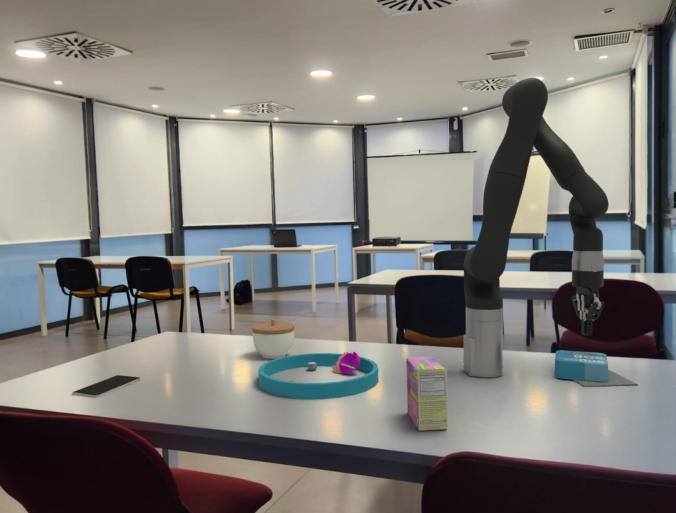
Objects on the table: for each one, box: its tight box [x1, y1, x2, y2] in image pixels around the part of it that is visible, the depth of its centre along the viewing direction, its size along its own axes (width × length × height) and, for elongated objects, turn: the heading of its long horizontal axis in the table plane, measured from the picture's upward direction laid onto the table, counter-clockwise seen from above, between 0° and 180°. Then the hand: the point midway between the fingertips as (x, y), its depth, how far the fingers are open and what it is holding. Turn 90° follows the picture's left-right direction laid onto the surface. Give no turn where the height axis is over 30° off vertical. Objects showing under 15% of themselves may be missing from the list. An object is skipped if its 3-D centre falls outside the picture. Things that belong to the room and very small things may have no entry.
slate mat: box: [572, 369, 638, 388], centre depth 138 cm, size 13×14×1 cm
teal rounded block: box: [554, 349, 609, 382], centre depth 141 cm, size 12×4×12 cm
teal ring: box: [257, 351, 379, 400], centre depth 140 cm, size 30×30×6 cm
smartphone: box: [71, 374, 141, 399], centre depth 137 cm, size 8×1×15 cm
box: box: [405, 356, 448, 432], centre depth 110 cm, size 10×6×12 cm, turn 5°
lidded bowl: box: [251, 318, 295, 360], centre depth 166 cm, size 13×13×11 cm
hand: (586, 334), depth 144 cm, fingers closed
